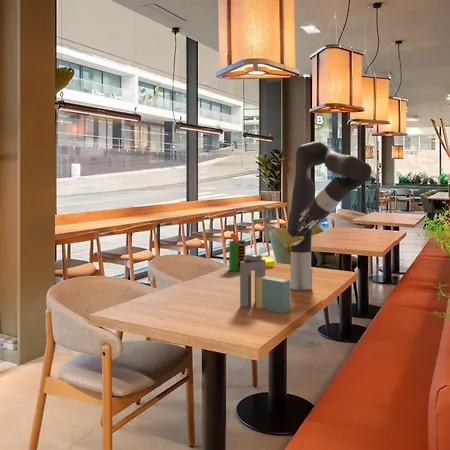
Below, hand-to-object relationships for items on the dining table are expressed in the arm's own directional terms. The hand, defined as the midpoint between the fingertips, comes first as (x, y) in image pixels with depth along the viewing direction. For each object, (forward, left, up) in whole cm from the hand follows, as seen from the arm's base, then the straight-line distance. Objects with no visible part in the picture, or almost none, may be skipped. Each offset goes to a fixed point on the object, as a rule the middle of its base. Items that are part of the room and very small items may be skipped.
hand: (296, 234), depth 186 cm
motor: (+9, -88, -30) cm, 94 cm away
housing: (+13, -16, -30) cm, 37 cm away
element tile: (-5, -98, -31) cm, 103 cm away
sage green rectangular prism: (+7, -8, -30) cm, 32 cm away
